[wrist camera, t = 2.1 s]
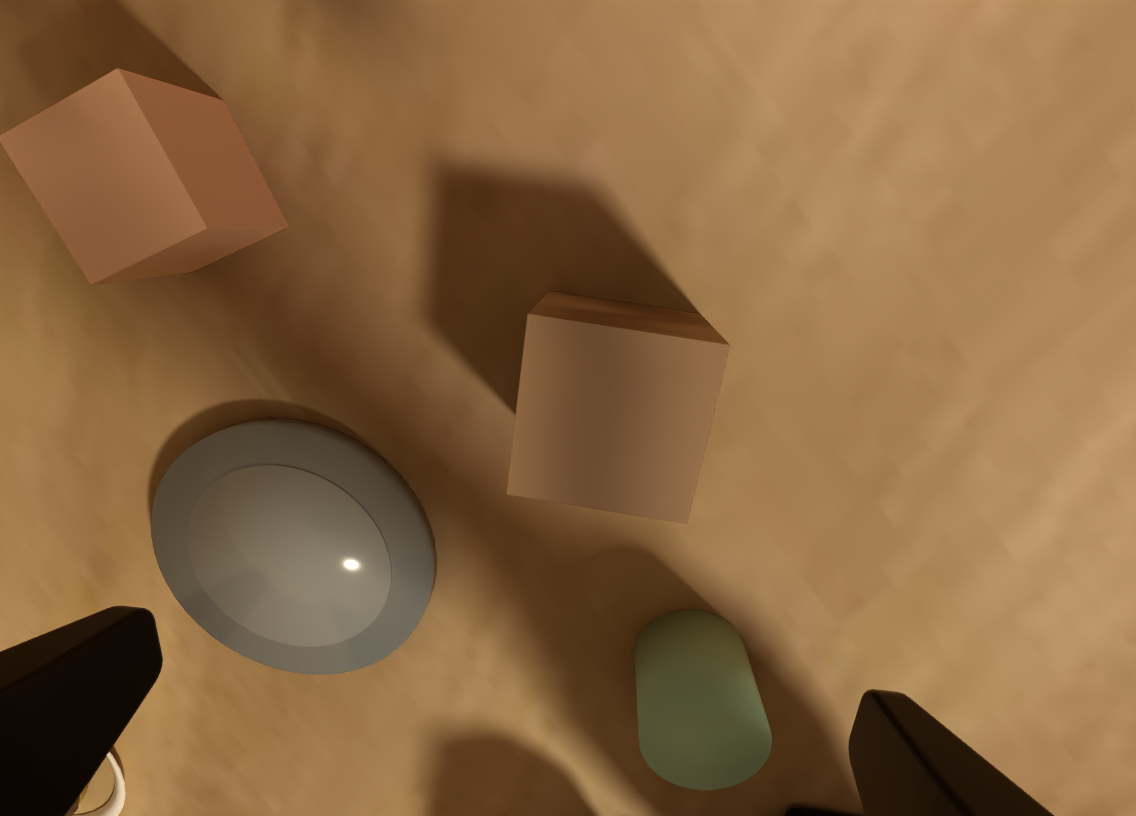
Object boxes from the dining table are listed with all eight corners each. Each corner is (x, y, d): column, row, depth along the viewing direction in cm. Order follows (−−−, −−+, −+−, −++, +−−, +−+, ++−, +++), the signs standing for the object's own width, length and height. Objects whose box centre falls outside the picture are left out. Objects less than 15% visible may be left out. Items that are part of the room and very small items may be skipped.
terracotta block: (225, 100, 17) (117, 68, 14) (290, 226, 19) (207, 228, 15) (125, 154, 18) (-4, 137, 14) (193, 272, 19) (90, 285, 15)
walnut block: (700, 313, 18) (729, 345, 14) (669, 452, 20) (687, 524, 15) (549, 290, 19) (527, 314, 14) (531, 430, 20) (506, 494, 15)
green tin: (757, 619, 22) (787, 702, 18) (730, 706, 23) (753, 800, 19) (645, 600, 22) (652, 679, 18) (625, 687, 23) (628, 777, 20)
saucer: (446, 443, 20) (439, 453, 20) (428, 680, 24) (421, 696, 23) (153, 396, 21) (134, 403, 20) (178, 636, 24) (162, 651, 23)
